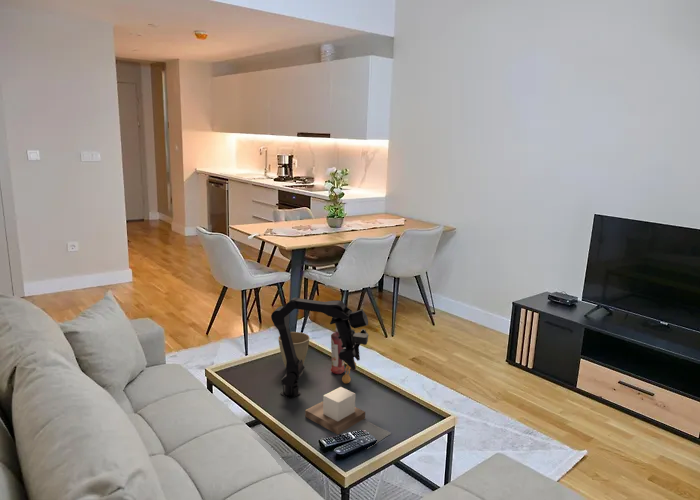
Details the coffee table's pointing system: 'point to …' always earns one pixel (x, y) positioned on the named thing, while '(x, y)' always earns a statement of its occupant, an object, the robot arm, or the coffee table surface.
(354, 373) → the coffee table surface
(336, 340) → the liquor
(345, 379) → the figurine
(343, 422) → the walnut board
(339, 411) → the beige block
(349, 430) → the mat
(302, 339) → the plant pot
